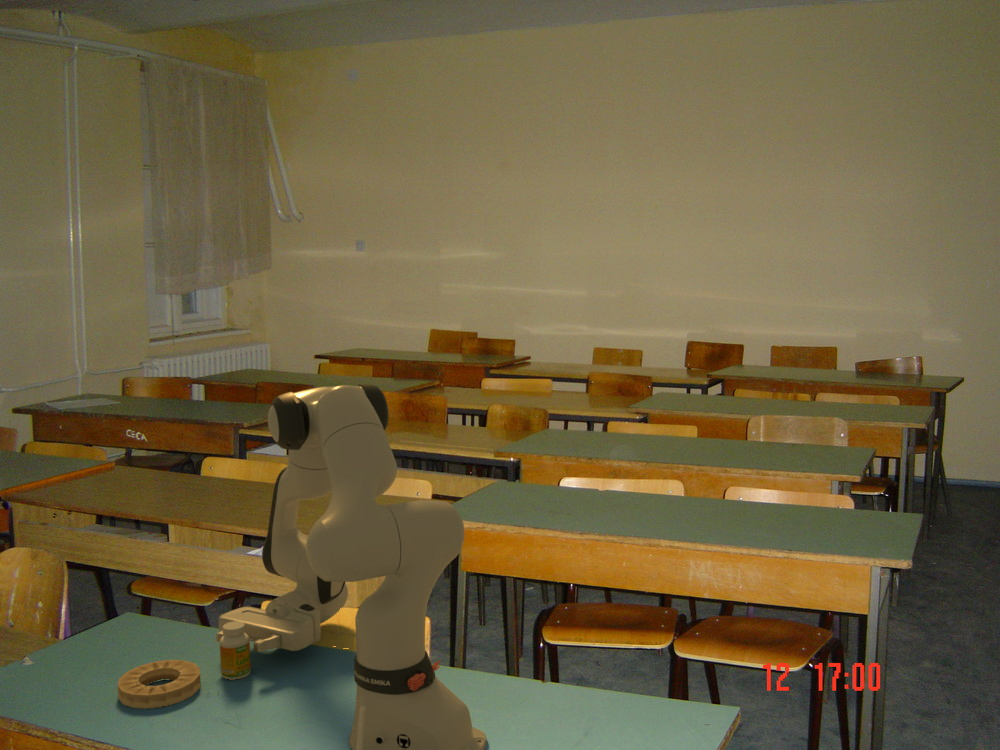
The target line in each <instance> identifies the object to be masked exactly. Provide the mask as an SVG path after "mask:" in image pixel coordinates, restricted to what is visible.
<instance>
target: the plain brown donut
mask: <svg viewBox="0 0 1000 750" xmlns="http://www.w3.org/2000/svg"><path fill="white" fill-rule="evenodd" d="M161 679H169V680H174V681H171V682H168V683H164V684H160V685H147V684H148V683H151V682H154V681H157V680H161ZM200 680H201V668H200V666H198V665H197V664H196V663H194V662H191V661H187V660H184V659H165V660H159V661H157V660H156V661H151V662H149V663H145V664H142V665H139V666H136V667H134V668H132V669H130V670H129V671H126V672H125V673H124V674H123V675H122V676H121V677H119V679H118V682H117V696H118V700H119V701H120V703H121V704H122V705H123V706H127V707H130V708H132V709H146V710H147V708H149V709H148V710H151V709H157V708H156V707H158V708H163V707H162V706H165V707H169V706H171V705H175V704H178V703H181V702H184V701H185V700H186V699H188V698H191V697H192V696H194V695H195V694H196V693H197V692H198V691H199V690H200V689H201V682H200ZM151 684H152V683H151ZM145 685H147V686H145ZM198 689H199V690H198ZM197 690H198V691H197ZM196 691H197V692H196ZM195 692H196V693H195ZM194 693H195V694H194ZM168 705H169V706H168ZM150 708H151V709H150Z"/></svg>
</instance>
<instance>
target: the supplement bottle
mask: <svg viewBox="0 0 1000 750" xmlns="http://www.w3.org/2000/svg"><path fill="white" fill-rule="evenodd" d="M244 632H245V624H244V623H243V622H239V621H235V622H229V623H226V624H224V625H223V635H224V636H222V637H221V639H220V642H219V653H220V654H219V656H220V670H221V671H220V673H221V677H222V678H223V679H224V678H225V680H227V679H229V680H228V681H236V679H238V680H242V679H245V678H246V677H248V676H249V675H250V674H251V671H252V667H251V650H250V649H251V648H250V647H251V645H250V641H249V636H248V635H247V634H246V633H244ZM244 677H245V678H244ZM241 678H242V679H241Z"/></svg>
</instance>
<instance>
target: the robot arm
mask: <svg viewBox="0 0 1000 750" xmlns="http://www.w3.org/2000/svg"><path fill="white" fill-rule="evenodd" d="M389 410H390V409H389V405H388V401H387V398H386V396H385V394H384V392H383V391H382V390H381V389H380V388H379V387H378V386H377V385H373V384H364V383H359V384H357V385H349V384H343V385H337V386H336V385H334V386H326V385H325V386H320V387H314V388H308V389H304V390H299V391H296V392H293V391H289V392H285V393H282V394H280V395H278V396H276V397H274V399H273V400H272V402H270V405H269V410H268V414H267V425H268V426H267V427H268V430H269V434H270V435H271V437H272V439H273V441H274V443H275V445H277V446H278V447H279V448H281V449H283V450H288V463H287V466H286V467H284V468H283V469H282V470H281V471H280V472H279V474H278V476H277V477H276V480H275V483H274V487H273V492H272V493H273V494H272V499H271V506H270V514H269V521H268V528H267V535H266V538H265V539H264V543H263V546H262V550H261V559H262V563H263V566H264V569H265V570H266V571H267V573H270V574H272V575H274V576H278V577H281V578H285V579H287V580H289V581H290V582H293V583H295V584H296V588H295V589H294V590H292V591H288V592H287V593H284V594H283V595H281V596H279V597H276V598H274V599H273V600H271V601H269V602H268V603H267V604H266V607H265V609H262V608H258V607H253V606H241V607H237V608H235V609H232V610H230V611H227V612H225V613H223V614H221V615H219V618H218V632H217V633H216V636H215V638H216V639H215V640H216V642H217V643H220V639H221V637H222V636H224V635H223V625H224V624H226V623H229V622H235V621H239V622H243V623H244V624H245V632H244V633H246V634H247V635H248V636H249V642H253V644H252V645H253V651H255V652H257V653H263V652H264V651H267V650H273V649H283V650H285V651H286V650H287V651H291V652H296V651H297V652H298V651H300V650H303V649H305V648H307V647H308V646H310V645H312V644H313V643H317V642H319V641H320V640H321V635H322V633H321V632H322V631H321V627H322V625H321V624H323V623H324V622H325V623H326V621H328V620H330V619H331V618H333V617H334V616H335V615H337V612H340V611H341V610H340V608H341V609H343V607H344V606H345V604H346V603H347V600H348V596H349V594H348V593H349V591H348V586H347V583H348V582H349V583H351V582H352V583H355V582H360V581H365V580H371V579H377V578H381V577H382V578H383V577H384V578H383V581H382V582H381V584H380V585H379V587H378V588H376V590H375V591H374V592H371V594H370V595H369V596H366V598H365V599H364V600H363V601H362V602H361V603H360V605H359V607H358V608H357V611H356V613H355V618H354V619H355V620H354V621H355V622H354V623H355V624H354V625H355V647H356V648H355V650H356V652H355V653H356V654H355V656H354V659H353V662H354V663H353V670H354V671H353V675H354V682H355V683H356V693H355V694H356V698H355V709H354V717H353V723H352V727H351V732H350V736H349V739H348V743H349V747H350V748H351V750H485V749H486V746H487V735H486V733H485V732H484V731H482V730H480V729H478V728H476V727H473V723H472V719H471V718H472V717H471V713H470V710H469V708H468V706H467V705H466V703H465V702H464V701H462V700H461V698H459V697H458V696H457V695H456V694H455V693H453V691H451V690H450V688H448V687H447V685H445V684H444V683H443V682H442V681H441V680H440V679H438V677H436V673H435V672H436V671H437V670H438V669H439V668H440V667H441V666H440V662H441V661H440V660H437V661H435V662H434V663H433V664H432V662H431V659H430V656H429V654H428V652H427V650H426V619H427V618H426V616H427V608H428V603H429V600H430V597H431V594H432V591H433V589H434V587H435V585H436V583H437V581H438V579H439V578H440V576H441V575H442V573H443V571H444V570H445V569H446V568H447V566H448V565H449V564H450V563H451V562H452V561H454V559H456V558H457V556H459V554H460V552H461V550H462V548H463V546H464V542H465V535H466V532H465V531H466V530H465V524H464V521H463V519H462V516H461V515H460V513H459V511H458V510H457V508H455V507H454V506H453V504H452V503H450V502H448V501H445V500H444V501H442V500H431V499H428V500H427V499H426V500H425V499H418V500H413V501H412V500H411V501H406V502H400V503H399V502H398V503H393V504H386V505H385V504H378V502H377V499H378V498H380V497H381V496H383V495H384V494H385V493H386V492H387V491H388V490H389V489H390V488H391V487H392V485H393V484H394V482H395V480H396V478H397V474H398V465H397V464H398V463H397V461H396V458H395V455H394V453H393V450H392V448H391V445H390V442H389V439H388V436H387V433H386V429H387V427H388V424H389V413H390V412H389ZM330 494H331V496H330V501H329V504H328V507H327V508H326V510H325V512H324V513H323V514H322V515H321V516H320V518H318V519H317V520H316V522H314V524H313V525H312V527H311V528H310V531H309V533H308V535H306V534H304V533H303V532H302V531H300V529H299V528H298V527H297V521H298V520H297V519H298V515H299V514H298V513H299V505H300V500H301V501H302V500H303V501H304V500H307V501H310V500H318V499H321V498H323V497H326V496H328V495H330ZM339 610H340V611H339Z"/></svg>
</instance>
